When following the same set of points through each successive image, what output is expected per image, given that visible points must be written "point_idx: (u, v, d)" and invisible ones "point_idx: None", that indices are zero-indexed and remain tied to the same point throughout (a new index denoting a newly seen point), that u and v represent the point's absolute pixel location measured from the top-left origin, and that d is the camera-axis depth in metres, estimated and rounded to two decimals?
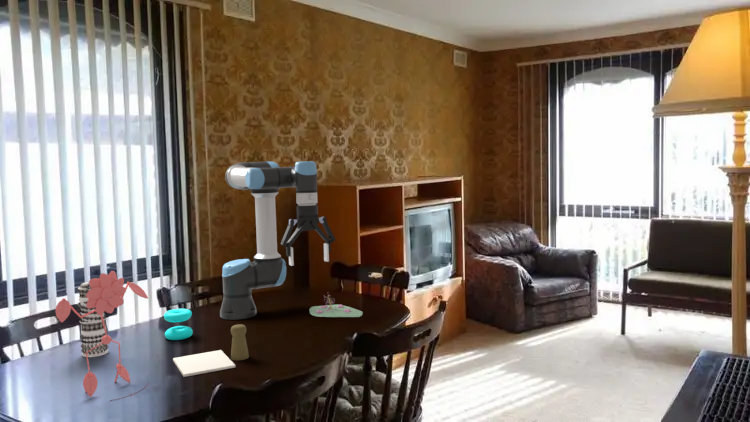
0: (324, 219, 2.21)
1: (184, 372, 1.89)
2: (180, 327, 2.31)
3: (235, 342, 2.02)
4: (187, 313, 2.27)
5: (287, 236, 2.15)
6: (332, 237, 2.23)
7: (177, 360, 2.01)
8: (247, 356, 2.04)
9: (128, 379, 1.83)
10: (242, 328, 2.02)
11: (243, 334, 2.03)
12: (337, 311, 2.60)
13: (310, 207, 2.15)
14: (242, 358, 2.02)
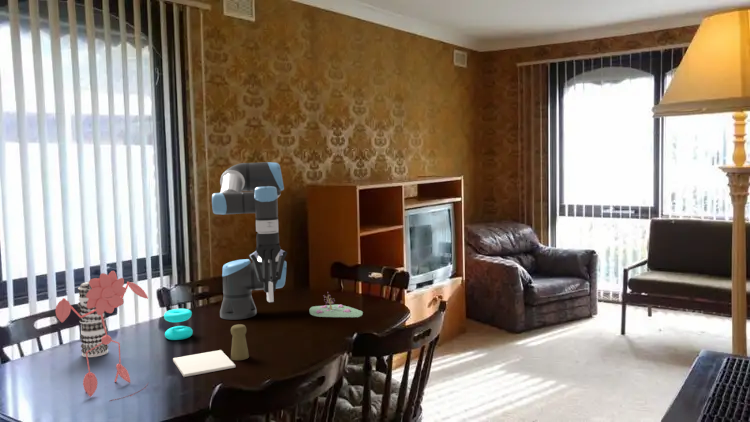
0: (284, 253, 2.08)
1: (184, 372, 1.89)
2: (180, 327, 2.31)
3: (235, 342, 2.02)
4: (187, 313, 2.27)
5: (258, 271, 2.04)
6: (279, 274, 2.08)
7: (177, 360, 2.01)
8: (247, 356, 2.04)
9: (128, 379, 1.83)
10: (242, 328, 2.02)
11: (243, 334, 2.03)
12: (337, 311, 2.60)
13: (270, 235, 2.03)
14: (242, 358, 2.02)
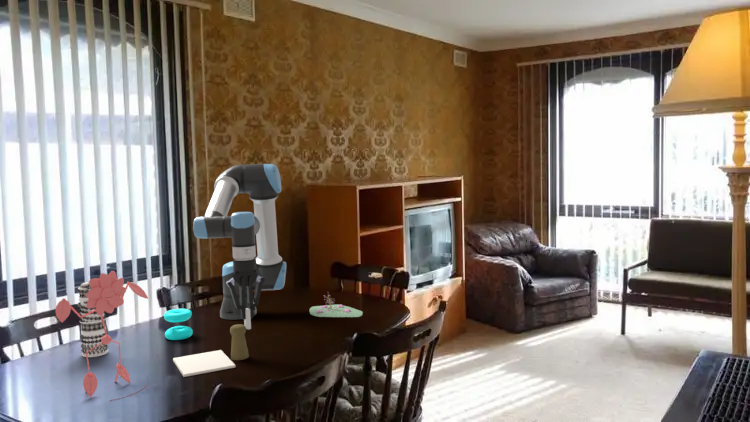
0: (262, 279, 2.05)
1: (184, 372, 1.89)
2: (180, 327, 2.31)
3: (235, 342, 2.02)
4: (187, 313, 2.27)
5: (235, 299, 2.01)
6: (256, 301, 2.05)
7: (177, 360, 2.01)
8: (247, 356, 2.04)
9: (128, 379, 1.83)
10: (241, 328, 2.02)
11: (242, 334, 2.02)
12: (337, 311, 2.60)
13: (247, 262, 2.00)
14: (242, 358, 2.02)
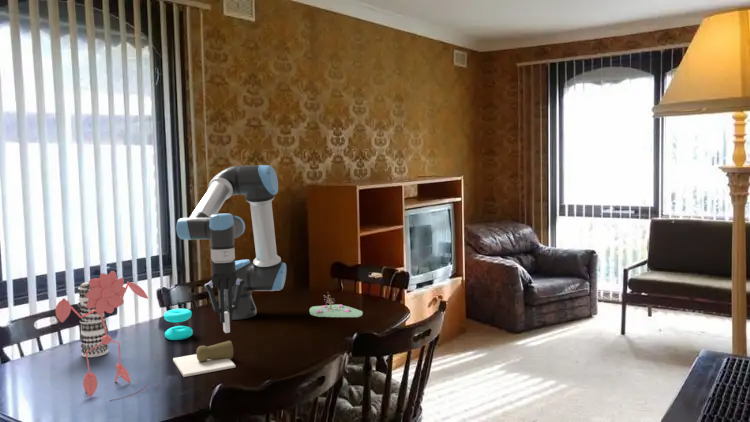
0: (241, 282, 2.02)
1: (184, 372, 1.89)
2: (180, 327, 2.31)
3: (215, 357, 1.99)
4: (187, 313, 2.27)
5: (214, 302, 1.98)
6: (236, 304, 2.02)
7: (177, 360, 2.01)
8: (230, 343, 2.02)
9: (128, 379, 1.83)
10: (201, 352, 1.96)
11: (207, 350, 1.98)
12: (337, 311, 2.60)
13: (225, 265, 1.97)
14: (231, 349, 2.01)
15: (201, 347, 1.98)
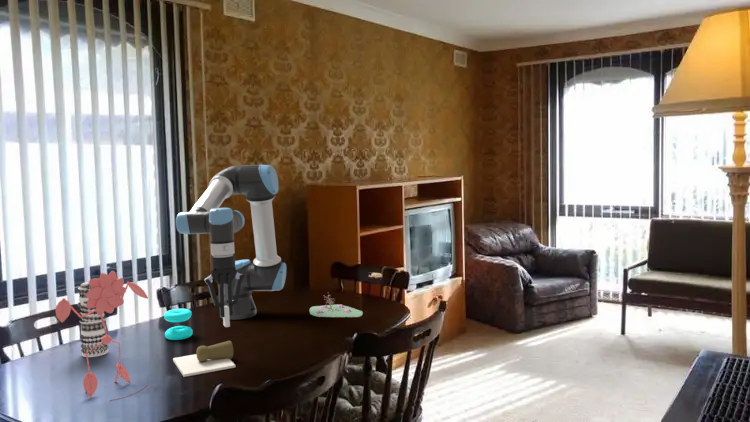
0: (241, 277, 2.02)
1: (184, 372, 1.89)
2: (180, 327, 2.31)
3: (215, 357, 1.99)
4: (187, 313, 2.27)
5: (214, 296, 1.98)
6: (236, 298, 2.02)
7: (177, 360, 2.01)
8: (230, 343, 2.02)
9: (128, 379, 1.83)
10: (201, 352, 1.96)
11: (207, 350, 1.98)
12: (337, 311, 2.60)
13: (225, 259, 1.96)
14: (231, 349, 2.01)
15: (201, 347, 1.98)
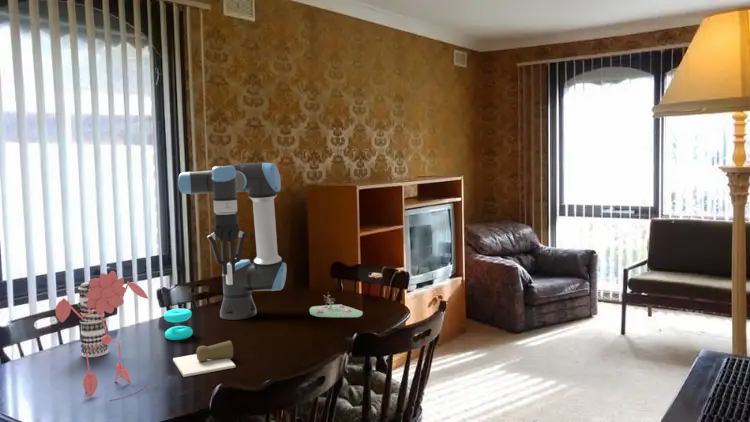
0: (244, 235, 2.02)
1: (184, 372, 1.89)
2: (180, 327, 2.31)
3: (215, 357, 1.99)
4: (187, 313, 2.27)
5: (216, 253, 1.99)
6: (238, 257, 2.02)
7: (177, 360, 2.01)
8: (230, 343, 2.02)
9: (128, 379, 1.83)
10: (201, 351, 1.96)
11: (207, 350, 1.98)
12: (337, 311, 2.60)
13: (228, 216, 1.97)
14: (231, 349, 2.01)
15: (201, 347, 1.98)
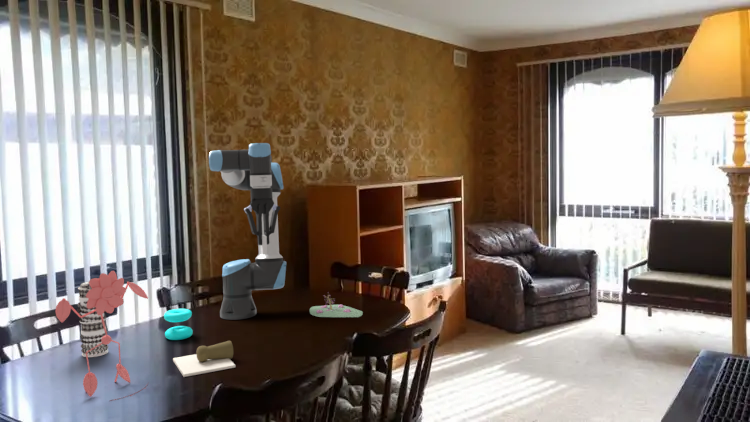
0: (277, 208, 2.17)
1: (184, 372, 1.89)
2: (180, 327, 2.31)
3: (215, 357, 1.99)
4: (187, 313, 2.27)
5: (253, 225, 2.13)
6: (272, 228, 2.16)
7: (177, 360, 2.01)
8: (230, 343, 2.02)
9: (128, 379, 1.83)
10: (201, 352, 1.96)
11: (207, 350, 1.98)
12: (337, 311, 2.60)
13: (263, 190, 2.11)
14: (231, 349, 2.01)
15: (201, 347, 1.98)
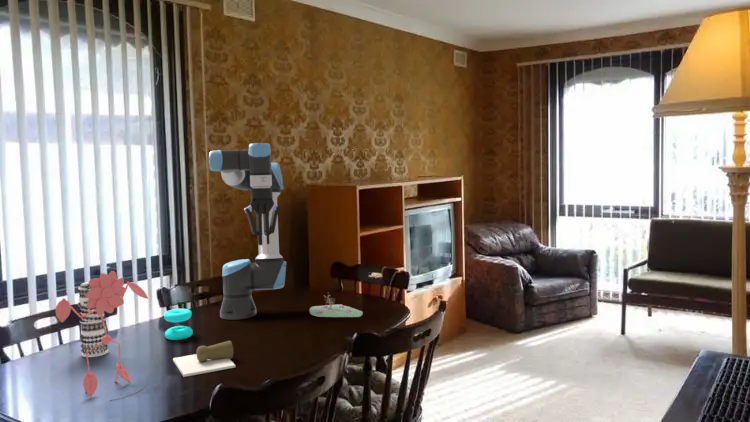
0: (277, 208, 2.17)
1: (184, 372, 1.89)
2: (180, 327, 2.31)
3: (215, 357, 1.99)
4: (187, 313, 2.27)
5: (253, 225, 2.13)
6: (272, 228, 2.16)
7: (177, 360, 2.01)
8: (230, 343, 2.02)
9: (128, 379, 1.83)
10: (201, 352, 1.96)
11: (207, 350, 1.98)
12: (337, 311, 2.60)
13: (263, 190, 2.11)
14: (231, 349, 2.01)
15: (201, 347, 1.98)
